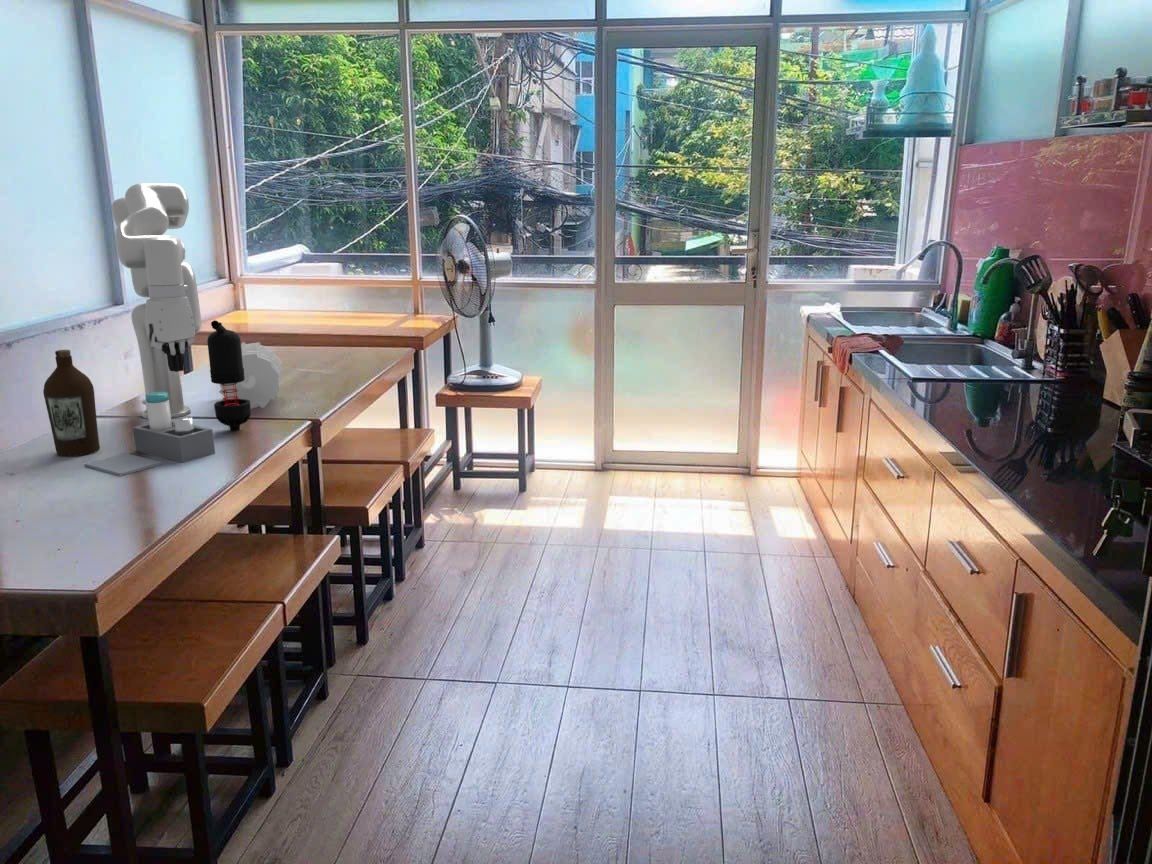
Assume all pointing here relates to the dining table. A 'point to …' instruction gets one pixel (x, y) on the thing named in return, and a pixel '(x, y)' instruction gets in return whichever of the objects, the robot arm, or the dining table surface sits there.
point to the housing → (174, 443)
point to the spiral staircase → (257, 376)
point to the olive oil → (71, 408)
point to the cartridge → (158, 410)
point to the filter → (227, 375)
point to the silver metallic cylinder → (183, 426)
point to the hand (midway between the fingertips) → (176, 370)
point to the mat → (122, 464)
